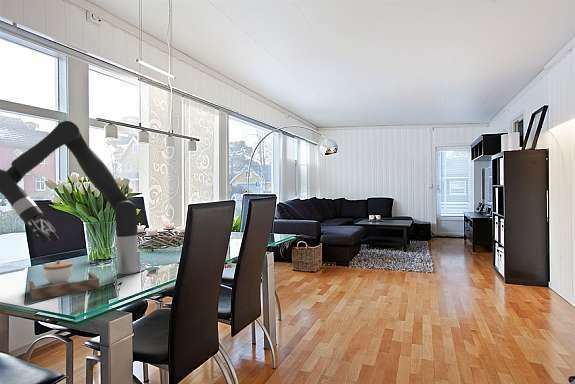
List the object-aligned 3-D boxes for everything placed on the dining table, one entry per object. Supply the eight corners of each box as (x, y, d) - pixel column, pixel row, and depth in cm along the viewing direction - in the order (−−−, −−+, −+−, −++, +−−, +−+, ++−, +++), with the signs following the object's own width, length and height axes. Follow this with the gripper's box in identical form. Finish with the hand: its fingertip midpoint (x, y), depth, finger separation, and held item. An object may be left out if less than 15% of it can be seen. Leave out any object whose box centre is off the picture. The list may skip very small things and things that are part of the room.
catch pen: (91, 281, 171) (91, 271, 171) (99, 288, 159) (98, 278, 159) (29, 291, 158) (28, 281, 157) (32, 300, 145) (32, 289, 145)
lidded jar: (54, 279, 176) (53, 258, 176) (78, 278, 176) (77, 257, 176) (38, 285, 165) (37, 263, 165) (64, 285, 165) (62, 262, 165)
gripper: (26, 203, 157) (52, 235, 157) (44, 205, 171) (68, 235, 171) (10, 215, 156) (36, 248, 156) (29, 216, 170) (53, 246, 170)
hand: (52, 241), depth 164 cm, fingers open, 8 cm apart
